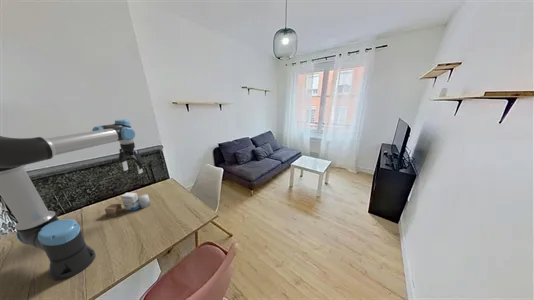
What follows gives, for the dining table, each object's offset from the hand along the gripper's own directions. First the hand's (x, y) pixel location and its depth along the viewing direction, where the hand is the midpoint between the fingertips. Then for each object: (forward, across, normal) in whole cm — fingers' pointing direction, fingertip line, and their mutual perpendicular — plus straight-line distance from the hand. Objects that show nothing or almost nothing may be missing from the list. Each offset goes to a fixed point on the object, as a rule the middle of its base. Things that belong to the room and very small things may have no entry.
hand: (133, 171), depth 121 cm
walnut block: (+28, +7, +13) cm, 32 cm away
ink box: (+28, +2, +5) cm, 28 cm away
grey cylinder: (+28, -4, 0) cm, 28 cm away
